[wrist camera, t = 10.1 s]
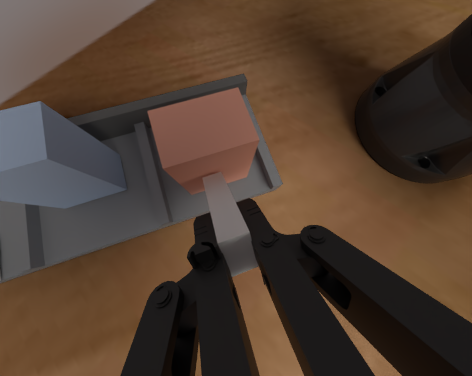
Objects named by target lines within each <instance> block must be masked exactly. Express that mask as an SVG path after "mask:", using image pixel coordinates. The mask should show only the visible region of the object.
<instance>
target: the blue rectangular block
mask: <svg viewBox="0 0 472 376" xmlns="http://www.w3.org/2000/svg"><path fill="white" fill-rule="evenodd" d="M124 190H127V186H126V181H125V177H124V172H123V167H122V163H121V158H120V155H119V154H118V153H116V152H115V151H113V150H112V149H110V148H109V147H107V146H106V145H104V144H103V143H102V142H100V141H99V140H97V139H96V138H94V137H93V136H91V135H90V134H88V133H87V132H85V131H84V130H82V129H81V128H79V127H78V126H76V125H75V124H73V123H72V122H70V121H69V120H67V119H66V118H65V117H63V116H62V115H60V114H59V113H57V112H56V111H54V110H53V109H51V108H50V107H48V106H47V105H45V104H44V103H42V102H41V101H38V102H34V103H30V104H26V105H22V106H18V107H13V108H9V109H5V110H1V111H0V201H6V202H14V203H22V204H30V205H39V206H47V207H55V208H63V209H66V208H69V207H72V206H76V205H79V204H82V203H85V202H89V201H92V200H95V199H98V198H102V197H105V196H108V195H111V194H115V193H118V192H121V191H124Z"/></svg>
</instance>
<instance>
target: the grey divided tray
mask: <svg viewBox="0 0 472 376" xmlns="http://www.w3.org/2000/svg"><path fill="white" fill-rule="evenodd" d="M237 87H238V88H239V91H240V93H241V95H242V98H243V100H244V103H245V105H246V108H247V110H248V113H249V115H250V117H251V120H252V122H253V125H254V127H255V130H256V132H257V134H258V137H259V139H260V140H259V143H258V146H257V149H256V152H255V155H254V158H253V160H252V163H251V166H250V169H249V172H248V175H247V177H246V178H243V179H240V180H237V181H233V182H230V183H227V185H228V187H229V189H230V191H231V193H232V196H233V198H234V200H235V202H239V201H241V200H244V199H247V198H253V197H256V196H259V195H262V194H265V193H268V192H271V191H274V190H276V189H277V188H278V187H280V186H281V185H282V184H283V183H282V181H281V178H280V176H279V173H278V171H277V169H276V166H275V164H274V161H273V159H272V157H271V154H270V152H269V149H268V147H267V145H266V142H265V140H264V137H263V135H262V133H261V130H260V128H259V125H258V123H257V121H256V118H255V116H254V113H253V111H252V109H251V106H250V104H249V101H248V99H247V97H246V87H247V80H246V77H245V75H244V74H240V75H236V76H232V77H229V78H225V79H221V80H217V81H213V82H209V83H205V84H201V85H197V86H193V87H189V88H185V89H181V90H177V91H173V92H169V93H166V94H162V95H158V96H154V97H150V98H146V99H142V100H138V101H134V102H130V103H126V104H122V105H118V106H114V107H110V108H106V109H102V110H99V111H95V112H91V113H87V114H83V115H79V116H75V117H71V118H67V120H69V121H70V122H72V123H73V124H75V125H76V126H78V127H79V128H81V129H82V130H84V131H85V132H87V133H88V134H90V135H91V136H93V137H94V138H96V139H97V140H99V141H100V142H102V143H103V144H104V145H106V146H107V147H109V148H110V149H112V150H113V151H115V152H116V153H118V154H119V155H120V158H121V163H122V167H123V172H124V177H125V181H126V186H127V190H124V191H121V192H118V193H115V194H111V195H108V196H105V197H102V198H98V199H95V200H92V201H89V202H85V203H82V204H79V205H76V206H72V207H69V208H66V209H63V208H55V207H47V206H39V205H30V204H22V203H14V202H6V201H0V277H1V281H0V283H3V282H5V281H8V280H11V279H14V278H17V277H20V276H23V275H26V274H29V273H32V272H35V271H38V270H41V269H44V268H47V267H50V266H53V265H56V264H58V263H61V262H64V261H67V260H70V259H73V258H76V257H79V256H82V255H85V254H88V253H91V252H94V251H97V250H100V249H103V248H106V247H109V246H112V245H114V244H117V243H120V242H123V241H126V240H129V239H132V238H135V237H138V236H141V235H144V234H147V233H150V232H153V231H156V230H159V229H162V228H165V227H167V226H170V225H173V224H176V223H179V222H182V221H185V220H188V219H191V218H194V217H197V216H200V215H203V214H206V213H209V212H210V209H209V204H208V200H207V196H206V192H205V191H203V192H200V193H196V194H193V195H191V194H190V193H189V192H188V191H187V190H186V189H185V188H183V187H182V186H181V185H180V184H179V183H178V182H177V181H176V180H175V179H174V178H172V177H171V176H170V175H169V174H168V173H167V172H166V171H165V170H164V169H163V168H162V164H161V160H160V156H159V153H158V149H157V145H156V142H155V138H154V134H153V130H152V127H151V123H150V119H149V116H148V112H147V111H149V110H153V109H157V108H161V107H164V106H168V105H172V104H176V103H180V102H184V101H187V100H191V99H195V98H199V97H203V96H206V95H210V94H214V93H218V92H222V91H226V90H229V89H233V88H237Z"/></svg>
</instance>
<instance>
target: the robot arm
mask: <svg viewBox="0 0 472 376" xmlns="http://www.w3.org/2000/svg"><path fill="white" fill-rule="evenodd" d="M355 123H356V128H357V132H358V135H359V137H360V140H361V142H362V144H363V145H364V147H365V149H366V150H367V151H368V153H369V154H370V155H371V156H372V157H373V159H374V160H375V161H376V162H378V163H379V164H380V165H381V166H382V167H384V168H385V169H386V170H388V171H389V172H391V173H393V174H395V175H396V176H399V177H401V178H403V179H406V180H409V181H413V182H418V183H438V182H442V181H447V180H451V179H456V178H460V177H464V176H467V175H470V174H472V14H471V15H470V16H469V17H468V18H467V19H466V20H464V21H463V22H462V23H461V24H460V25H459V26H458V27H457V28H455V29H454V30H453V31H452V32H451V33H449V34H448V35H447V36H445V37H443V38H442V39H440V40H438V41H437V42H435V43H433V44H432V45H430V46H428V47H427V48H425V49H423V50H422V51H420V52H418V53H417V54H415V55H413V56H412V57H410V58H408V59H407V60H405V61H403V62H402V63H400V64H398V65H397V66H395V67H393V68H391V69H390V70H388V71H387V72H385V73H384V74H382V75H381V76H380V77H379V78H378V79H377V80H376V81H375V82H374V83H373V84H372V85H371V86H370V87H369V88H368V89H367V90H366V91H365V92H364V93H363V94H362V96H361V97H360V99H359V101H358V103H357V107H356V112H355ZM202 179H203V183H204V187H205V192H206V196H207V200H208V204H209V209H210V212H209V213H206V214H203V215H201V216H198V217H196V219H195V221H194V235H195V244H194V245H193V246H192V247H191V248H190V250H189V252H188V255H187V259H188V260H189V262H190V264H191V265H192V267H193V269H192V270H191V272H190V273H189V274H187V275H186V276H185V277H184V278H182V279H181V280H180V281H178V282H177V283H175V282H174V281H167V282H164V283H162V284H160V285H159V286H157V287H156V288H155V289H154V290H153V292H152V293H151V294H150V296H149V298H148V300H147V303H146V306H145V309H144V311H143V314H142V317H141V320H140V323H139V325H138V328H137V331H136V334H135V337H134V339H133V342H132V345H131V348H130V351H129V353H128V356H127V359H126V362H125V364H124V367H123V370H122V373H121V376H195V371H196V362H197V353H198V344H200V358H201V371H202V376H260V375H259V372H258V368H257V364H256V361H255V357H254V353H253V350H252V346H251V342H250V339H249V335H248V331H247V328H246V324H245V321H244V317H243V313H242V310H241V306H240V302H239V299H238V295H237V291H236V288H235V285H234V283H233V280H232V277H233V276H236V275H238V274H241V273H243V272H246V271H248V270H251V269H253V268H256V267H258V266H259V268H260V270H261V273H262V277H263V281H264V284H266V287H267V289H268V291H269V294H270V296H271V298H272V301H273V303H274V305H275V308H276V310H277V312H278V315H279V317H280V320H281V322H282V324H283V327H284V329H285V331H286V334H287V336H288V338H289V341H290V343H291V345H292V348H293V350H294V352H295V355H296V357H297V360H298V362H299V364H300V367H301V369H302V371H303V374H304V376H375V375H374V374H373V372H372V371H371V369H370V368H369V366H368V365H367V363H366V362H365V360H364V359H363V357H362V356H361V354H360V353H359V351H358V350H357V348H356V347H355V345H354V344H353V342H352V341H351V339H350V338H349V336H348V335H347V333H346V332H345V330H344V329H343V327H342V326H341V324H340V323H339V321H338V320H337V318H336V317H335V315H334V314H333V312H332V311H331V309H330V308H329V306H328V305H327V303H326V302H325V300H324V299H323V297H322V296H321V294H322V295H323V296H324V297H325V298H326V299H327V300H328V301H329V302H330V303H331V304H332V305H333V306H334V307H335V308H336V309H337V310H338V311H339V312H340V313H341V314H342V315H343V316H344V317H345V318H346V319H347V320H348V321H349V322H350V323H351V324H352V325H353V326H354V327H355V328H356V329H357V330H358V331H359V332H360V333H361V334H362V335H363V336H364V337H365V338H366V339H367V340H368V341H369V342H370V343H371V344H372V345H373V347H374V348H375V349H376V350H377V351H378V352H379V353H380V354H381V355H382V356H383V357H384V358H385V359H386V360H387V361H388V362H389V363H390V364H391V365H392V366H393V367H394V368H395V369H396V370H397V371H398V372H399V373H400V374H401V375H402V376H472V323H470V322H469V321H467V320H466V319H464V318H463V317H461V316H460V315H458V314H457V313H455V312H454V311H452V310H451V309H449V308H447V307H446V306H444V305H443V304H441V303H440V302H438V301H437V300H435V299H434V298H432V297H431V296H429V295H428V294H426V293H425V292H423V291H421V290H420V289H418V288H417V287H415V286H414V285H412V284H411V283H409V282H408V281H406V280H405V279H403V278H402V277H400V276H398V275H397V274H395V273H394V272H392V271H391V270H389V269H388V268H386V267H385V266H383V265H382V264H380V263H379V262H377V261H376V260H374V259H372V258H371V257H369V256H368V255H366V254H365V253H363V252H362V251H360V250H359V249H357V248H356V247H354V246H353V245H351V244H349V243H348V242H346V241H345V240H343V239H342V238H340V237H339V236H337V235H336V234H334V233H333V232H331V231H330V230H328V229H326V228H324V227H322V226H318V225H309V226H307V227H304V228H303V229H302V230H301V233H300V234H293V235H284V234H280V233H278V232H277V231H275V230H274V229H273V228H272V227H271V225H270V224H269V222H268V221H267V219H266V217H265V216H264V214H263V213H262V212H261V210H260V208H259V207H258V205H257V204H256V202H255V201H254V200H252V199H250V198H247V199H244V200H241V201H239V202H235V200H234V198H233V196H232V193H231V191H230V189H229V187H228V185H227V183H226V181H225V179H224V177H223V174H222V172H218V173H215V174H212V175H209V176H206V177H203V178H202ZM319 292H320V293H321V294H320V293H319Z"/></svg>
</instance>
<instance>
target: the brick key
mask: <svg viewBox="0 0 472 376" xmlns="http://www.w3.org/2000/svg"><path fill="white" fill-rule="evenodd" d="M147 112H148V116H149V119H150V123H151V127H152V130H153V134H154V138H155V142H156V145H157V149H158V153H159V156H160V160H161V164H162V168H163V169H164V170H165V171H166V172H167V173H168V174H169V175H170V176H171V177H172V178H174V179H175V180H176V181H177V182H178V183H179V184H180V185H181V186H182V187H183V188H185V189H186V190H187V191H188V192H189V193H190V194H191V195H193V194H196V193H200V192H203V191H205V187H204V183H203V179H202V178H203V177H206V176H209V175H212V174H215V173H218V172H222V174H223V177H224V179H225V181H226V183H230V182H233V181H237V180H240V179H243V178H246V177H247V175H248V172H249V169H250V166H251V163H252V160H253V158H254V155H255V152H256V149H257V146H258V143H259V140H260V139H259V137H258V134H257V132H256V130H255V127H254V125H253V122H252V120H251V117H250V115H249V113H248V110H247V108H246V105H245V103H244V100H243V98H242V95H241V93H240V91H239V88H238V87H237V88H233V89H229V90H226V91H222V92H218V93H214V94H210V95H206V96H203V97H199V98H195V99H191V100H187V101H184V102H180V103H176V104H172V105H168V106H164V107H161V108H157V109H153V110H149V111H147Z"/></svg>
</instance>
